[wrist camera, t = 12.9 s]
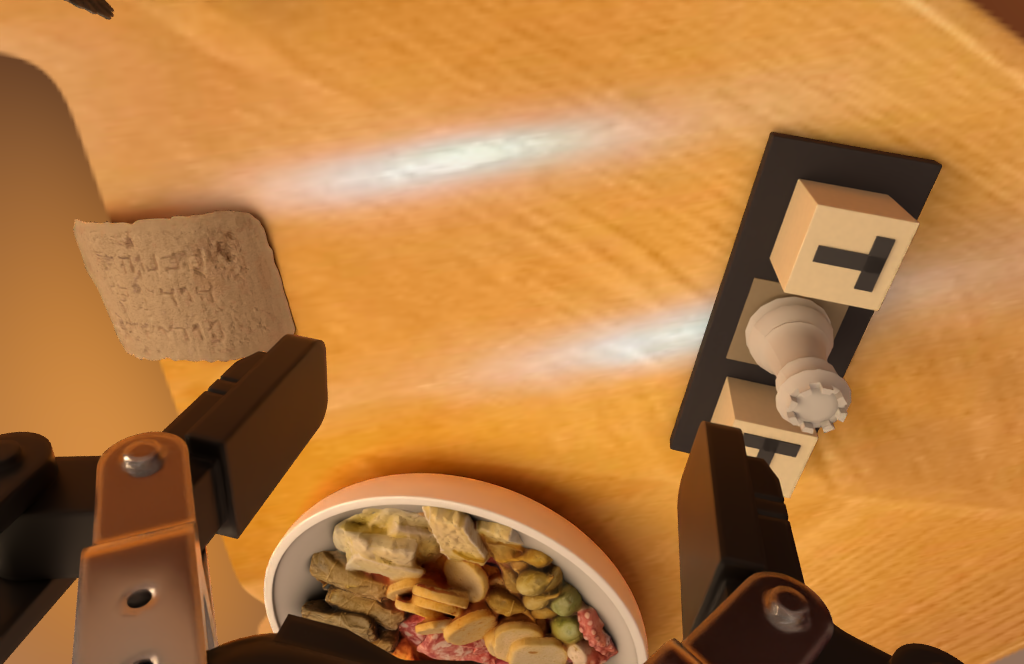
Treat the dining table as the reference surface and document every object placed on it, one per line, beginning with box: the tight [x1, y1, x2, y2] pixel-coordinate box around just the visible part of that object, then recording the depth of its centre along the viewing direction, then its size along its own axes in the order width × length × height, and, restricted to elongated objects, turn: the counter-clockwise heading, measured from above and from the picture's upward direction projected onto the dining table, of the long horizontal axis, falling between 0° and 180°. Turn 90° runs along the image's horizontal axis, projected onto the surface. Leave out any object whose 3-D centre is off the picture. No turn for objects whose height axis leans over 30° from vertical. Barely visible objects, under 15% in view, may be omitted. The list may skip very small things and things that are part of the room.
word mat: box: [670, 132, 942, 453], centre depth 36 cm, size 20×8×1 cm, turn 172°
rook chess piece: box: [745, 297, 851, 434], centre depth 33 cm, size 4×4×8 cm
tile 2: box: [770, 179, 920, 311], centre depth 31 cm, size 4×4×4 cm
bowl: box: [264, 473, 648, 664], centre depth 50 cm, size 30×30×8 cm
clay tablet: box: [73, 210, 295, 363], centre depth 43 cm, size 14×10×3 cm
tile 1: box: [711, 377, 818, 498], centre depth 37 cm, size 4×4×4 cm
